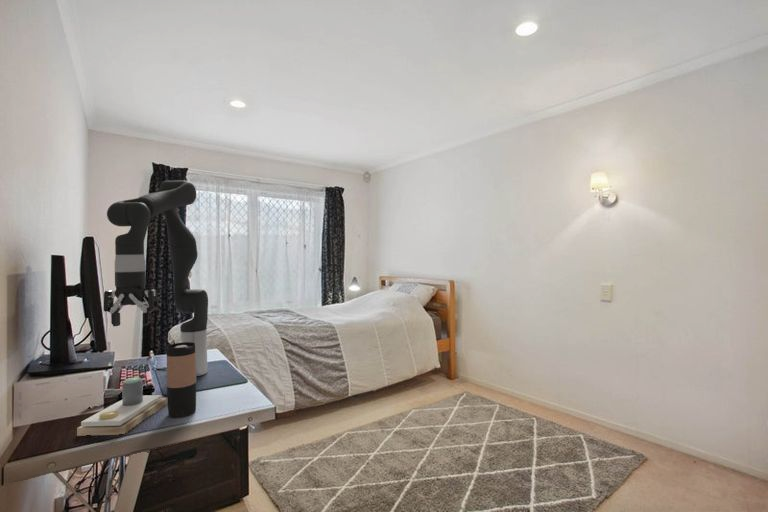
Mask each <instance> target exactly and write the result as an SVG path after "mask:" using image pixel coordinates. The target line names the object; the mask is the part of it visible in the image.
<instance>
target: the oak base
mask: <svg viewBox="0 0 768 512" xmlns="http://www.w3.org/2000/svg"><path fill="white" fill-rule="evenodd" d="M166 406H168V398H167V397H162V399H161V400H159V401H158V402H156V403H154V404H153V405H151V406H150V407H148V408H147V409H145V410H144V411H142V412H141V413H139V414H137V415H136V416H134V417H133V418H131V419H130V420H128V421H127V422H125V423H123V424H122V425H120V426H85V427H81V425H80V426H78V427H76V429H77V430H76V434H77V435H76V436H77V437H83V436H86V435H91V436H114V435H117V436H118V435H119V434H124V435H126V434H127V433H129V432H130V431H132V430H133V429H134V428H135V426H136V425H137V424H138V425H140V424H141V423H142V422H141V421H143V420H144V419H145V420H147V419H148V418H149V416H150V415H151V416H152V414H153V415H154V414H156V413H157V412H158V411H159V410H161V409H163V408H164V407H166ZM151 416H150V417H151ZM147 417H148V418H147ZM146 418H147V419H146ZM145 420H144V421H145ZM144 421H143V422H144ZM140 422H141V423H140ZM139 423H140V424H139ZM138 425H137V426H138ZM137 426H136V427H137ZM133 427H134V428H133ZM132 428H133V429H132ZM129 430H130V431H129ZM128 431H129V432H128ZM125 433H126V434H125ZM119 436H120V435H119ZM86 437H87V436H86Z"/></svg>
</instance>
